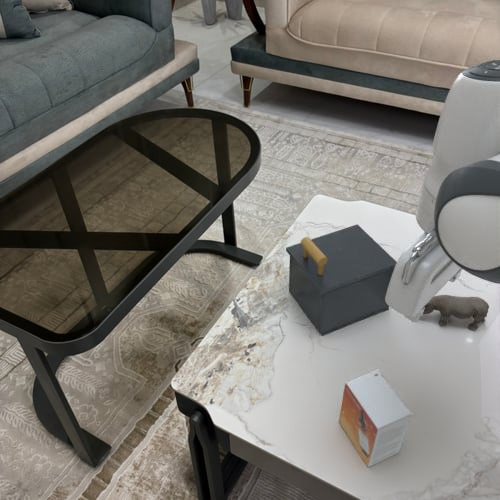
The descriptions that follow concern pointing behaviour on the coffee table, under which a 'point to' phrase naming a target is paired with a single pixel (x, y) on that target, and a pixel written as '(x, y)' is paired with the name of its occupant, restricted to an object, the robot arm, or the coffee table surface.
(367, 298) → the bin
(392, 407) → the small box
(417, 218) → the robot arm
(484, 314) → the rhino figurine
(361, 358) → the coffee table surface
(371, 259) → the bin lid
